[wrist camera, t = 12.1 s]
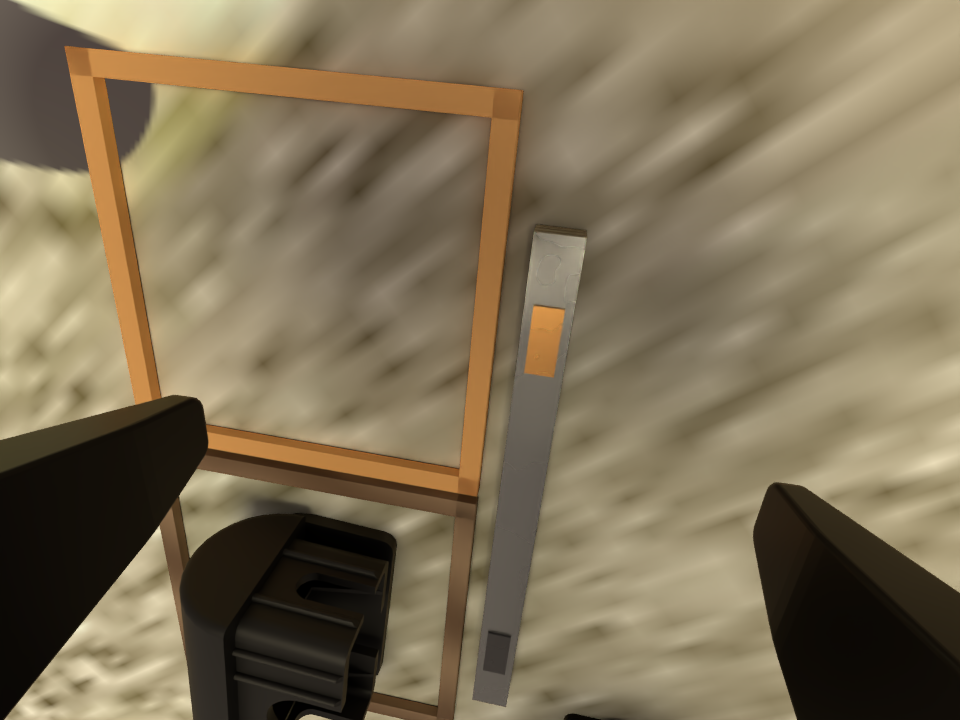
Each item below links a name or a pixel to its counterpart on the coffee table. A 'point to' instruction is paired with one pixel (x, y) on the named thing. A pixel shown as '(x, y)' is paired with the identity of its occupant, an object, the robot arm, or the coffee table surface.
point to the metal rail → (528, 447)
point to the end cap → (286, 618)
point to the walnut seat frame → (388, 492)
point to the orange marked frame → (318, 85)
